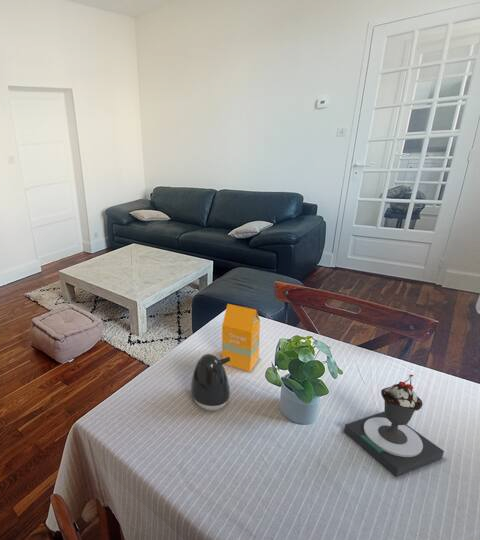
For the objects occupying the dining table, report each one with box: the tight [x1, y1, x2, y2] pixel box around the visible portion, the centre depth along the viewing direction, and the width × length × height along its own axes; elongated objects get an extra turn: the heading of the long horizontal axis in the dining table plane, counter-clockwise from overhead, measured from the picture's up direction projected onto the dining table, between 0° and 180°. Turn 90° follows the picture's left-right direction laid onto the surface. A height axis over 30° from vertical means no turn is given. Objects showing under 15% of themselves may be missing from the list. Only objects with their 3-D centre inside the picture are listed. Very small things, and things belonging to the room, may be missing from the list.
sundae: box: [378, 374, 424, 444], centre depth 70 cm, size 7×7×15 cm
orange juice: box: [221, 303, 261, 372], centre depth 103 cm, size 8×9×20 cm
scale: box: [343, 410, 445, 478], centre depth 73 cm, size 12×12×4 cm
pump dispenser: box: [190, 353, 231, 412], centre depth 89 cm, size 10×10×15 cm
